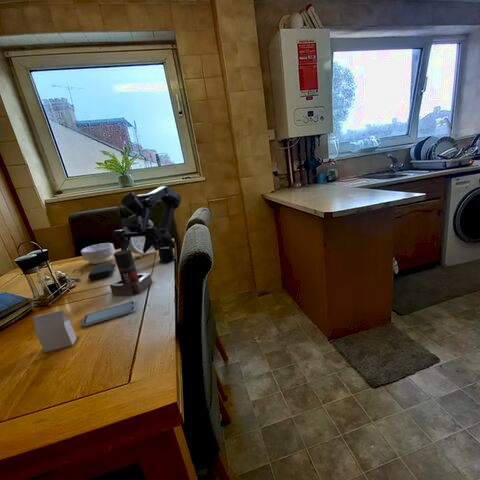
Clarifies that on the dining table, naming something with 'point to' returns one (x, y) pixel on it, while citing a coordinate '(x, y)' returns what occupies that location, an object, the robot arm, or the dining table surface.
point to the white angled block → (54, 330)
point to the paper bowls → (98, 253)
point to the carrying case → (101, 271)
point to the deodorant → (126, 266)
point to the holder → (131, 285)
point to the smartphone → (109, 313)
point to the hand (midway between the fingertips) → (133, 253)
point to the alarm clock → (138, 242)
